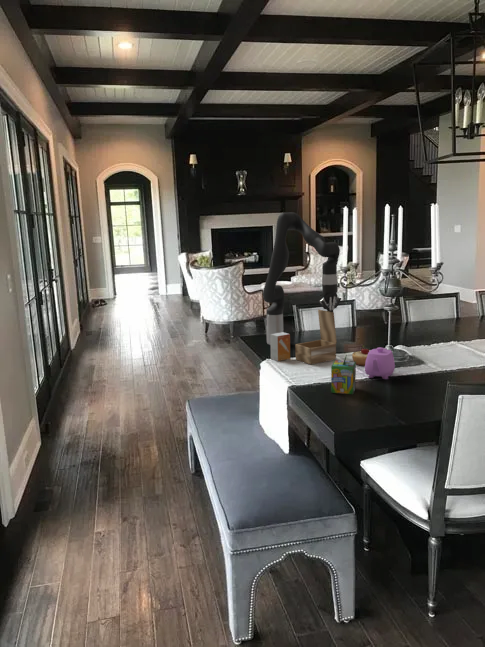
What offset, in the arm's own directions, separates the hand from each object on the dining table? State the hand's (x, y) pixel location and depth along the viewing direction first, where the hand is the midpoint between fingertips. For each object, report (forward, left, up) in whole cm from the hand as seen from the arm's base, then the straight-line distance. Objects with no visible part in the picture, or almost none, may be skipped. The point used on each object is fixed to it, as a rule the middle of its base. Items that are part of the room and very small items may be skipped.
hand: (330, 317), depth 265 cm
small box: (-12, -23, -21) cm, 33 cm away
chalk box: (+45, -31, -21) cm, 58 cm away
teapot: (+39, -5, -21) cm, 44 cm away
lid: (0, -2, -4) cm, 5 cm away
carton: (0, -10, -20) cm, 22 cm away
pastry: (+20, +4, -21) cm, 29 cm away
